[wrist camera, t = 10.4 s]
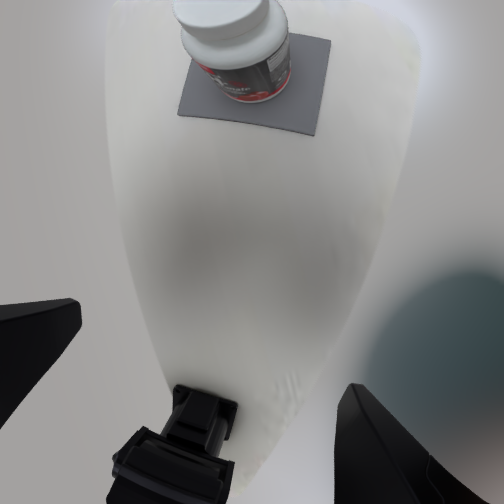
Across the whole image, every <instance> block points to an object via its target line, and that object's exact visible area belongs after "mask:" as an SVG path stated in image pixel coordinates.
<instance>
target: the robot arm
mask: <svg viewBox="0 0 504 504" xmlns="http://www.w3.org/2000/svg"><path fill="white" fill-rule="evenodd" d="M81 326H82V316H81V306H80V303H79V302H78V301H76V300H74V299H71V298H65V299H56V300H47V301H38V302H29V303H18V304H8V305H0V429H1V428H2V426H3V425H4V424H5V422H6V421H7V420H8V418H9V417H10V416H11V414H12V413H13V412H14V411H15V409H16V408H17V407H18V405H19V404H20V403H21V402H22V401H23V399H24V398H25V397H26V396H27V394H28V393H29V392H30V391H31V390H32V388H33V387H34V386H35V385H36V384H37V382H38V381H39V380H40V379H41V378H42V377H43V375H44V374H45V373H46V372H47V371H48V370H49V368H50V367H51V366H52V365H53V364H54V363H55V362H56V361H57V359H58V358H59V357H60V356H61V354H62V353H63V352H64V350H65V349H66V347H67V346H68V345H69V343H70V342H71V341H72V339H73V338H74V337H75V335H76V334H77V332H78V331H79V330H80V328H81ZM179 390H180V391H179ZM231 406H233V407H231ZM237 408H238V405H237V404H236V403H235V402H231V401H228V400H224V399H221V398H217V397H214V396H210V395H207V394H204V393H201V392H198V391H195V390H192V389H189V388H186V387H183V386H180V385H176V386H175V387H174V389H173V412H172V415H171V416H170V418H169V420H168V421H167V423H166V425H165V427H164V428H163V430H162V432H161V434H160V435H159V434H157V433H155V432H153V431H151V430H149V429H148V428H146V427H144V426H143V427H142V428H141V429H140V430H139V431H137V432H136V433H135V434H134V435H133V436H132V437H131V438H130V439H129V441H128V442H127V443H126V444H125V445H124V446H123V447H122V448H121V449H120V450H119V451H118V452H116V453H115V454H114V455H113V457H112V460H113V462H114V466H113V470H112V476H113V477H114V478H115V481H114V483H113V485H112V487H111V489H110V492H109V494H108V495H107V497H106V503H107V504H226V501H227V499H228V495H229V491H230V486H231V481H232V475H233V470H234V464H235V462H233V461H230V460H229V461H227V460H224V459H220V458H218V456H219V453H220V450H221V447H222V444H223V441H224V440H225V441H226V440H228V439H229V437H230V433H231V430H232V426H233V423H234V419H235V415H236V412H237ZM334 477H335V478H334V479H335V480H334V481H335V485H334V488H335V489H334V504H489V503H487V502H486V501H484V500H483V499H481V498H480V497H479V496H477V495H476V494H475V493H473V492H472V491H471V490H470V489H469V488H467V487H466V486H465V485H463V484H462V483H461V482H460V481H458V480H457V479H456V478H455V477H454V476H453V475H452V474H450V473H449V472H448V471H447V470H446V469H445V468H444V467H443V466H442V465H441V464H440V463H439V462H438V461H437V460H435V458H434V457H433V456H432V455H429V452H428V451H427V450H426V449H425V448H424V447H423V446H422V445H421V444H420V443H419V442H418V441H417V440H416V439H415V438H414V437H413V436H412V435H411V434H410V433H409V432H408V431H407V430H406V429H405V428H404V427H403V426H402V425H401V424H400V422H399V421H397V419H396V418H395V417H394V416H393V415H392V414H391V413H390V412H389V411H388V410H387V409H386V408H385V407H384V406H383V405H382V404H381V403H380V402H379V401H378V400H377V399H376V398H375V396H373V394H372V393H371V392H370V391H369V390H368V389H367V388H366V387H365V386H364V385H362V384H355V383H351V384H349V386H348V387H347V389H346V391H345V392H344V394H343V396H342V398H341V400H340V402H339V404H338V410H337V422H336V434H335V445H334Z"/></svg>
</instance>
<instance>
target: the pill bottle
mask: <svg viewBox="0 0 504 504" xmlns="http://www.w3.org/2000/svg"><path fill="white" fill-rule="evenodd" d="M173 13H174V15H175V17H176V19H177V20H178V21H179V23H180V24H181V26H182V27H181V39H182V43H183V46H184V48H185V50H186V51H187V53H188V54H189V55H190V56H191V58H192V59H193V60H194V61H195V62H196V63H197V64H198V65H199V66H200V67H201V68H202V69H203V70H204V71H205V73H206V74H207V75H208V76H209V77H210V78H211V79H212V81H213V82H214V83H215V84H216V85H217V86H218V87H219V88H220V90H221V91H222V92H223V93H224V94H226V95H227V96H228V97H230V98H232V99H234V100H236V101H239V102H244V103H257V102H262V101H265V100H269V99H271V98H273V97H274V96H276V95H277V94H278V93H280V92H281V91H282V90H283V89H284V87H285V86H286V85H287V83H288V81H289V78H290V74H291V59H290V46H289V33H288V20H287V17H286V14H285V11H284V9H283V7H282V6H281V5H280V3H279V2H278V1H277V0H174V1H173Z"/></svg>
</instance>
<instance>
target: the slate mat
mask: <svg viewBox="0 0 504 504" xmlns="http://www.w3.org/2000/svg"><path fill="white" fill-rule="evenodd" d="M330 44H331V40H327V39H322V38H317V37H312V36H307V35H301V34H295V33H289V46H290V59H291V74H290V78H289V81H288V83H287V85H286V86H285V87H284V89H283V90H282V91H281V92H280V93H278V94H277V95H276V96H274V97H273V98H271V99H269V100H265V101H262V102H257V103H244V102H239V101H236V100H234V99H232V98H230V97H228V96H227V95H226V94H224V93H223V92H222V91H221V90H220V88H219V87H218V86H217V85H216V84H215V83H214V82H213V81H212V79H211V78H210V77H209V76H208V75H207V74H206V73H205V71H204V70H203V69H202V68H201V67H200V66H199V65H198V64H197V63H196V62H195V61H194V60H193V59H192V60H191V64H190V67H189V71H188V74H187V78H186V81H185V85H184V89H183V93H182V96H181V100H180V104H179V109H178V113H177V115H179V116H191V117H202V118H212V119H220V120H228V121H236V122H243V123H249V124H256V125H262V126H267V127H273V128H278V129H283V130H288V131H293V132H298V133H303V134H307V135H311V136H314V134H315V129H316V124H317V118H318V113H319V108H320V102H321V97H322V92H323V86H324V80H325V75H326V69H327V63H328V57H329V51H330Z"/></svg>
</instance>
